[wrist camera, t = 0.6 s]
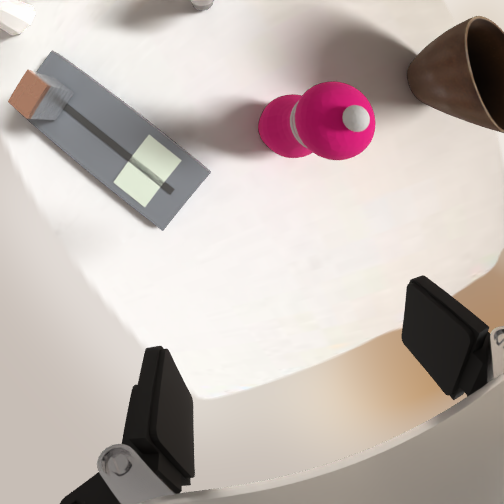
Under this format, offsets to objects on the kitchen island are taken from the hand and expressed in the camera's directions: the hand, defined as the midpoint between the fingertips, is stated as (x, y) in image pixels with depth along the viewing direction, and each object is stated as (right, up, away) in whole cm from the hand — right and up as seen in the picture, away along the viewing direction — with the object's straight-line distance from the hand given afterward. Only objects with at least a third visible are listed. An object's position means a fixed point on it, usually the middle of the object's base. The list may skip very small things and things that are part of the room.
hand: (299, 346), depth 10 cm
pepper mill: (+2, +19, +24) cm, 30 cm away
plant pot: (+25, +30, +23) cm, 45 cm away
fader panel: (-20, +18, +20) cm, 34 cm away
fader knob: (-26, +22, +15) cm, 37 cm away
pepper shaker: (-35, +37, +11) cm, 53 cm away
